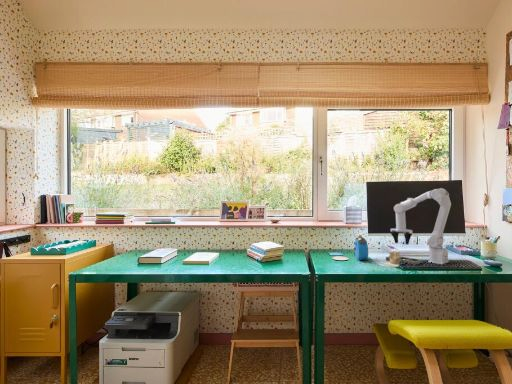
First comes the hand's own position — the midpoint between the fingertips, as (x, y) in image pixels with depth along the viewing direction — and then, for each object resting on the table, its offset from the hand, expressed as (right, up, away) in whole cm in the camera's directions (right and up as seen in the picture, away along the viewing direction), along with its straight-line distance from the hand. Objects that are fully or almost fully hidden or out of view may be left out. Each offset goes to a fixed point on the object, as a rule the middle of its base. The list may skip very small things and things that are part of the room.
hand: (401, 243), depth 226 cm
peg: (-10, -10, -14) cm, 20 cm away
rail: (-2, -10, -9) cm, 13 cm away
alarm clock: (-25, -11, +3) cm, 27 cm away
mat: (-10, -10, -14) cm, 20 cm away
